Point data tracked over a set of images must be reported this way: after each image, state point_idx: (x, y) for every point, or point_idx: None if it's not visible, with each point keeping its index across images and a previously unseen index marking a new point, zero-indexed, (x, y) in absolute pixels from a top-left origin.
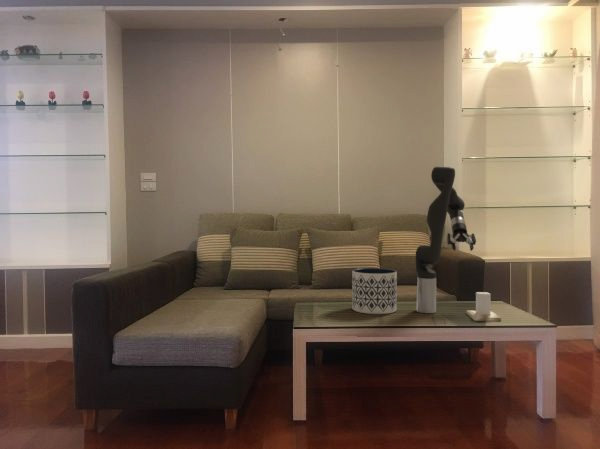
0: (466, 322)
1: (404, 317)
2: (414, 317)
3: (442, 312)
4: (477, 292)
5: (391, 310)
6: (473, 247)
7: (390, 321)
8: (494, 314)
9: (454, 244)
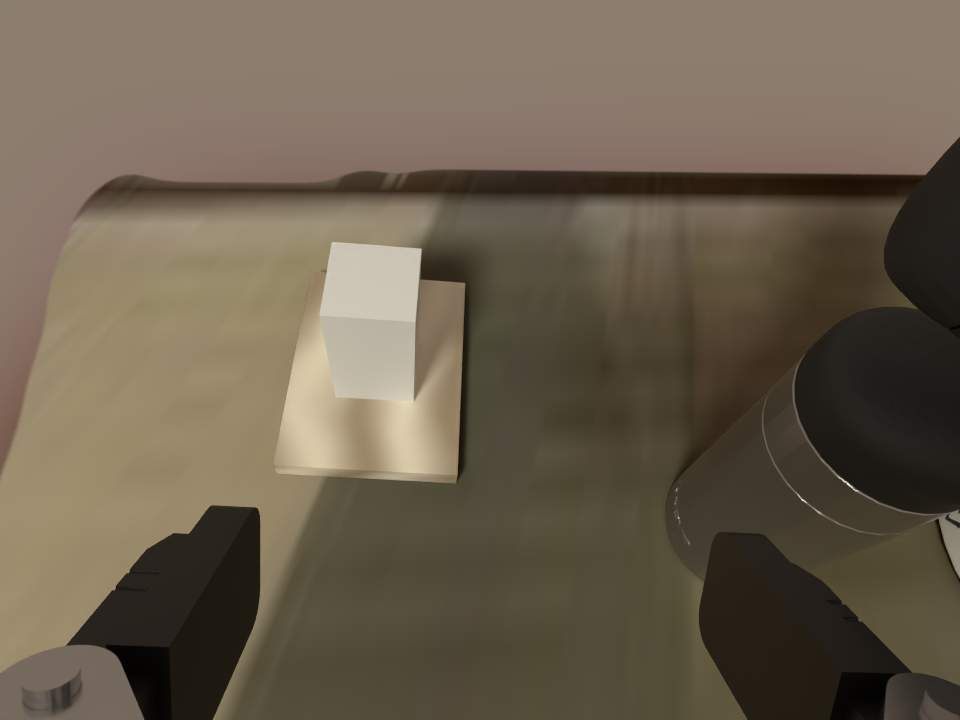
0: (518, 255)
1: None
2: (790, 356)
3: (619, 508)
4: (409, 305)
5: None
6: (155, 547)
7: None
8: (307, 353)
9: (812, 610)
